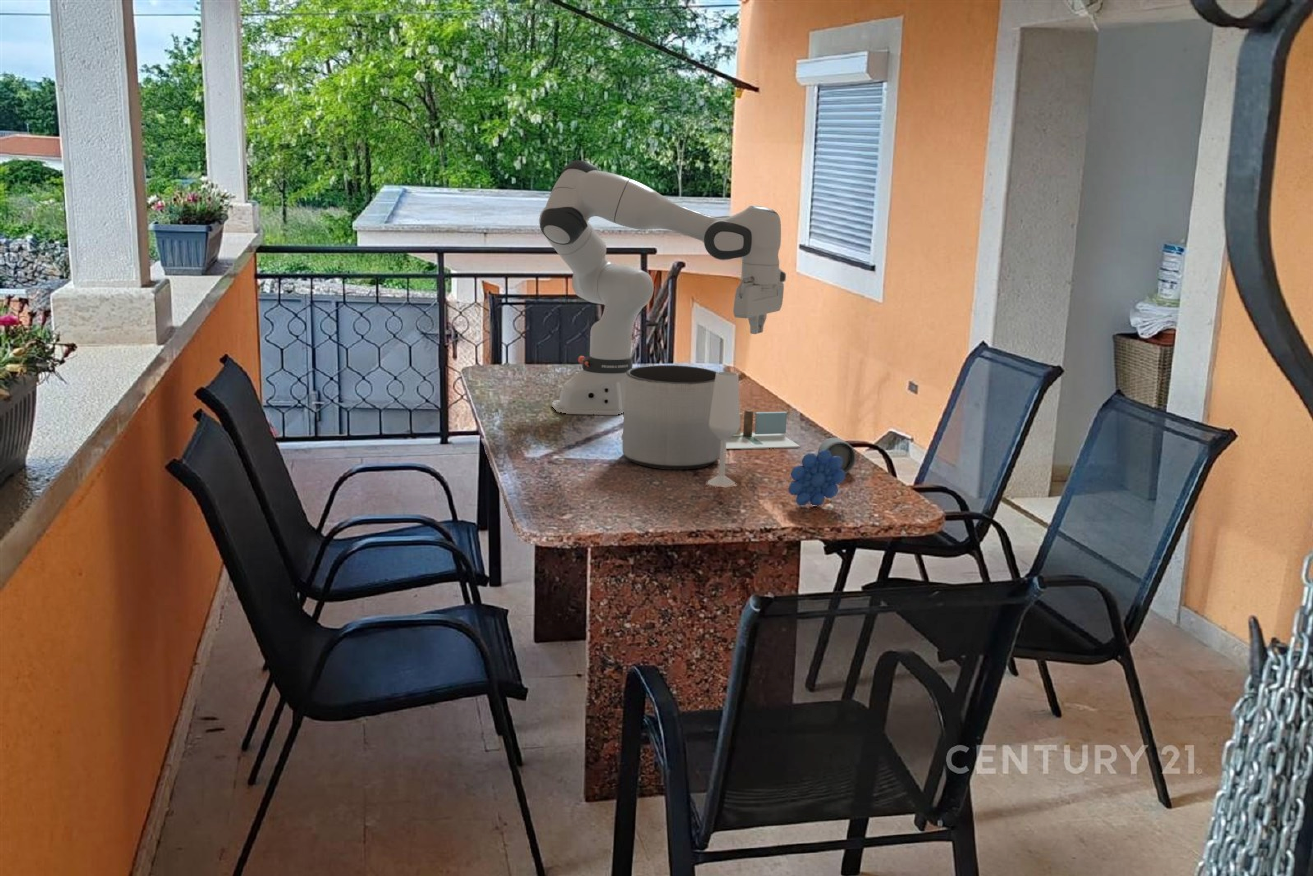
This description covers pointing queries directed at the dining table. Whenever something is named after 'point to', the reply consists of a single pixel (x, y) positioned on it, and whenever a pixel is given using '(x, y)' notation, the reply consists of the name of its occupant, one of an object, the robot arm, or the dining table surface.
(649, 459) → the planter
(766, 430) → the light blue rectangular panel
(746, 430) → the pine fence section
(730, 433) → the champagne flute
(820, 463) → the grapes
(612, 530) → the dining table surface
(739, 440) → the card
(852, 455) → the ceramic mug
